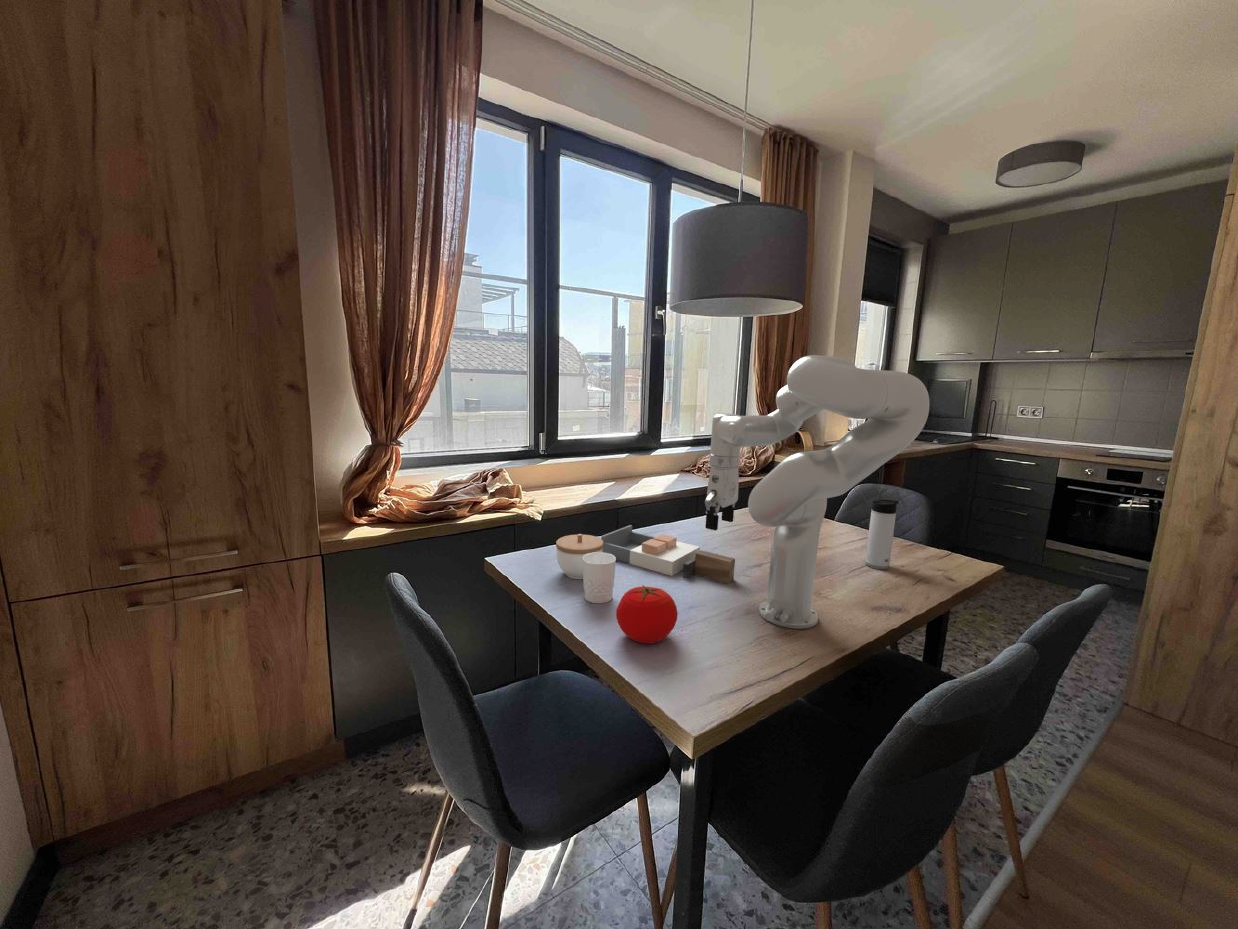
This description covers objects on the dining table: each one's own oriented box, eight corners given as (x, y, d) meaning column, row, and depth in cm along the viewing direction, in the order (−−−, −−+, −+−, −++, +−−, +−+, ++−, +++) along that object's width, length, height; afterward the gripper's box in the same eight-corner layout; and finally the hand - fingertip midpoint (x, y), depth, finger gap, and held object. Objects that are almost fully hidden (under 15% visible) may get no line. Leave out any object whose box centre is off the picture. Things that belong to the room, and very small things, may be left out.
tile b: (667, 549, 139) (667, 541, 139) (652, 545, 142) (653, 538, 142) (676, 545, 143) (676, 537, 143) (661, 541, 146) (662, 534, 146)
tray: (629, 563, 138) (630, 543, 137) (600, 555, 145) (601, 535, 144) (657, 550, 150) (658, 531, 149) (629, 542, 157) (630, 525, 156)
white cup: (607, 607, 111) (608, 566, 109) (576, 601, 114) (577, 560, 112) (619, 593, 118) (620, 555, 117) (589, 588, 121) (590, 550, 119)
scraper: (721, 589, 123) (723, 566, 122) (682, 577, 130) (683, 556, 129) (740, 575, 133) (741, 554, 132) (703, 565, 139) (704, 545, 138)
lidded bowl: (556, 584, 123) (556, 543, 121) (555, 566, 135) (555, 528, 133) (605, 582, 125) (606, 541, 123) (599, 564, 137) (600, 527, 135)
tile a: (656, 555, 134) (656, 547, 134) (641, 551, 137) (641, 543, 137) (665, 550, 138) (666, 542, 138) (651, 546, 141) (651, 538, 141)
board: (671, 575, 130) (672, 561, 130) (629, 563, 138) (630, 550, 138) (699, 559, 143) (699, 546, 142) (658, 549, 151) (659, 537, 151)
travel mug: (892, 571, 138) (901, 503, 135) (866, 568, 140) (874, 501, 137) (888, 564, 144) (896, 498, 141) (863, 561, 146) (871, 496, 143)
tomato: (606, 633, 100) (607, 584, 98) (652, 617, 107) (653, 572, 105) (639, 658, 91) (641, 606, 89) (687, 640, 98) (689, 591, 96)
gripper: (723, 468, 116) (718, 536, 119) (750, 459, 130) (745, 520, 133) (695, 463, 120) (691, 529, 123) (724, 456, 134) (720, 515, 137)
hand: (719, 525), depth 128 cm, fingers open, 9 cm apart
